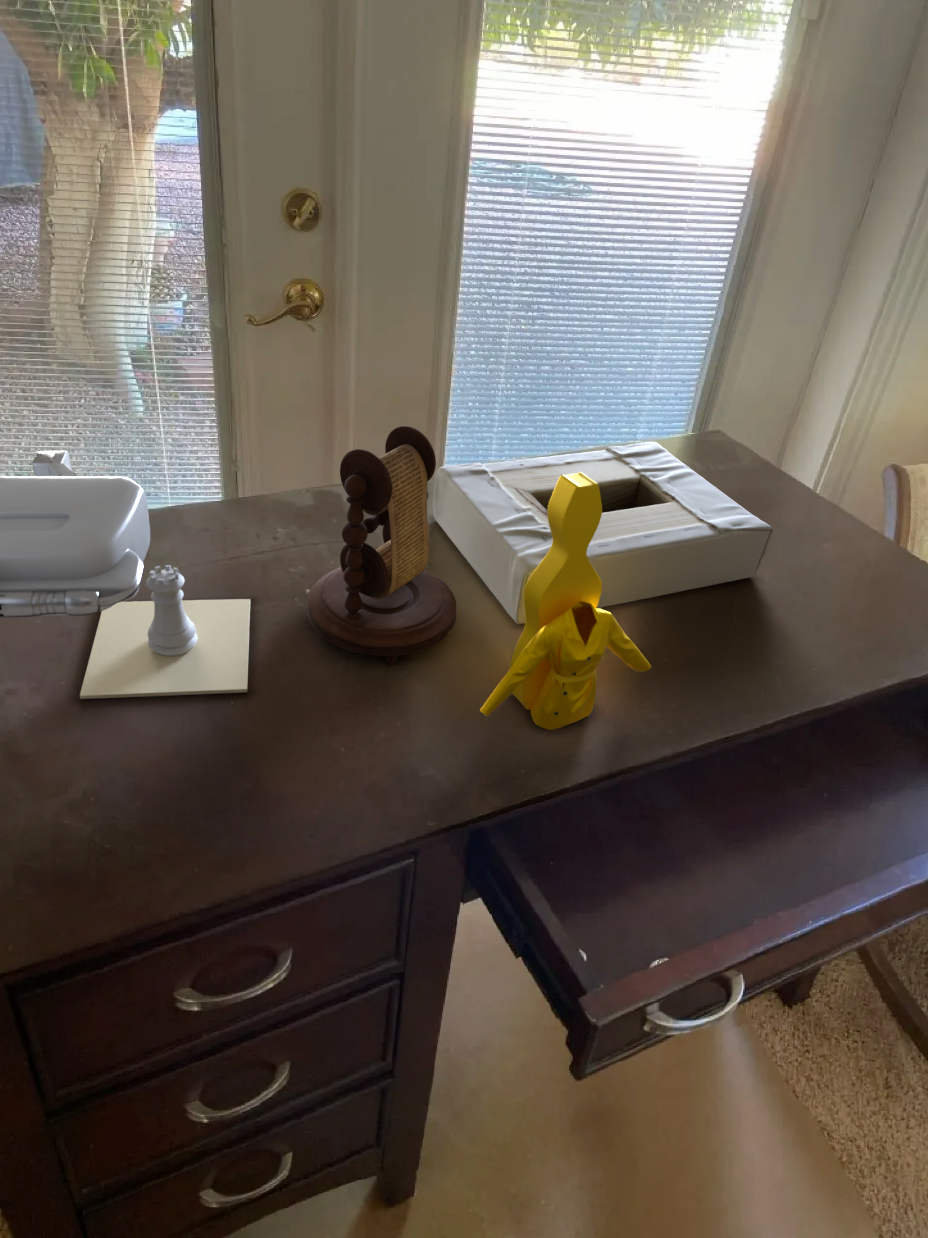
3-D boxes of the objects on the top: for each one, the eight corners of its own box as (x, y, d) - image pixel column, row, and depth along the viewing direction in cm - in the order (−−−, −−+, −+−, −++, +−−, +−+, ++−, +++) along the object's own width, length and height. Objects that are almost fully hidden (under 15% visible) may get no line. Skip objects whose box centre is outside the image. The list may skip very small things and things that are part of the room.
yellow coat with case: (488, 757, 75) (522, 534, 62) (447, 700, 81) (470, 484, 68) (654, 706, 83) (716, 498, 70) (607, 657, 88) (655, 455, 75)
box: (517, 631, 91) (760, 578, 103) (526, 567, 86) (779, 519, 98) (428, 523, 107) (645, 489, 120) (431, 465, 103) (657, 435, 115)
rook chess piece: (185, 662, 81) (177, 590, 76) (139, 653, 81) (128, 581, 77) (206, 634, 85) (199, 564, 80) (161, 625, 85) (152, 555, 80)
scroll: (397, 689, 81) (409, 496, 70) (276, 627, 87) (268, 439, 75) (482, 616, 92) (505, 437, 80) (368, 565, 98) (374, 391, 86)
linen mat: (80, 699, 76) (79, 695, 76) (104, 605, 87) (104, 601, 87) (247, 692, 79) (247, 689, 79) (250, 601, 90) (250, 598, 90)
